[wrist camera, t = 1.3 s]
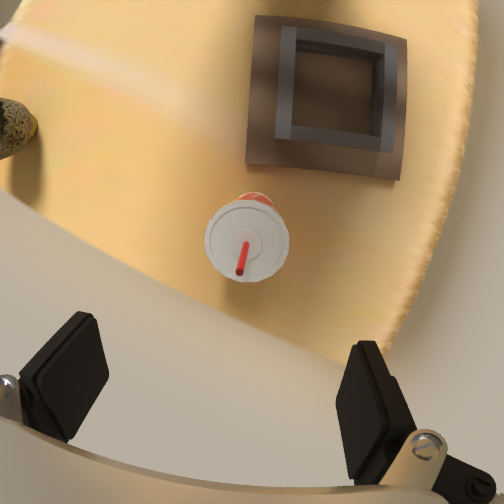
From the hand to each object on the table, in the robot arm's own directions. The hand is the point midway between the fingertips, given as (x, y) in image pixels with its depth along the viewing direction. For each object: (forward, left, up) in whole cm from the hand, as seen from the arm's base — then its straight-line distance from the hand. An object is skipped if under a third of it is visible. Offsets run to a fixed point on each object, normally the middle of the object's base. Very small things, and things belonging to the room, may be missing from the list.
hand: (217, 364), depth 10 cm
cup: (-10, -28, -22) cm, 37 cm away
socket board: (-13, +7, -22) cm, 26 cm away
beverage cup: (0, 0, -22) cm, 22 cm away
